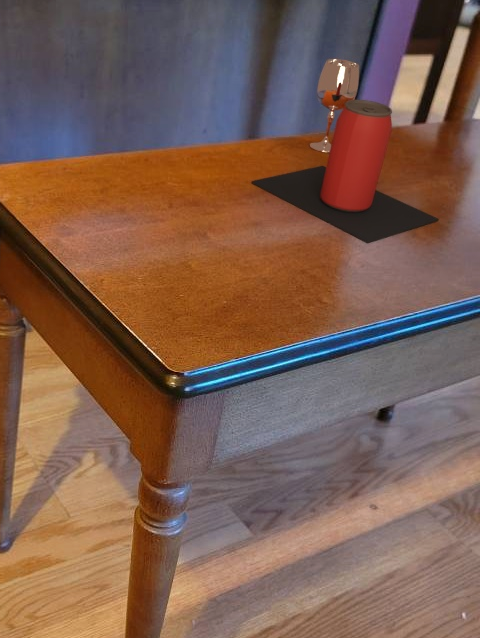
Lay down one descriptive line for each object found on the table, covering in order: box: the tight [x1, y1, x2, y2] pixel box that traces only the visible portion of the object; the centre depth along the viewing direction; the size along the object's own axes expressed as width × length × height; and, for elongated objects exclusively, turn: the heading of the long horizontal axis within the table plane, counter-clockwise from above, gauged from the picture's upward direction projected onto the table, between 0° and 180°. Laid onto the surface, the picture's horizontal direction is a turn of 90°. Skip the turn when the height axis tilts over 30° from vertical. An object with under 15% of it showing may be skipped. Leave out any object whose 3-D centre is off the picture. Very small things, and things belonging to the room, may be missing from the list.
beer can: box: [320, 99, 393, 212], centre depth 91 cm, size 7×7×12 cm
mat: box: [250, 165, 440, 244], centre depth 96 cm, size 20×14×1 cm
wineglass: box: [309, 58, 360, 154], centre depth 109 cm, size 6×6×12 cm
